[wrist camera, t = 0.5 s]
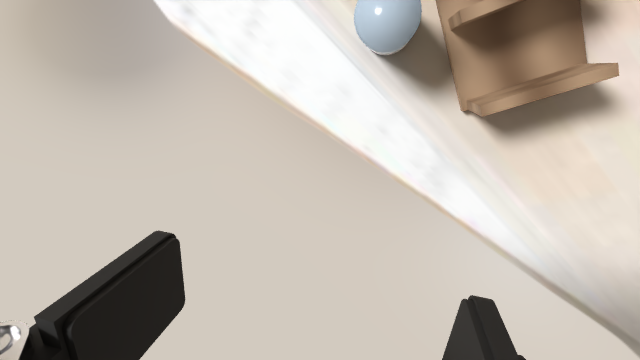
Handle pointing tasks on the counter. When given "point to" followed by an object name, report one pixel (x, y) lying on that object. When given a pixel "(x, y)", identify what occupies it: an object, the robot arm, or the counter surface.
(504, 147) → the counter surface
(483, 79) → the rack
